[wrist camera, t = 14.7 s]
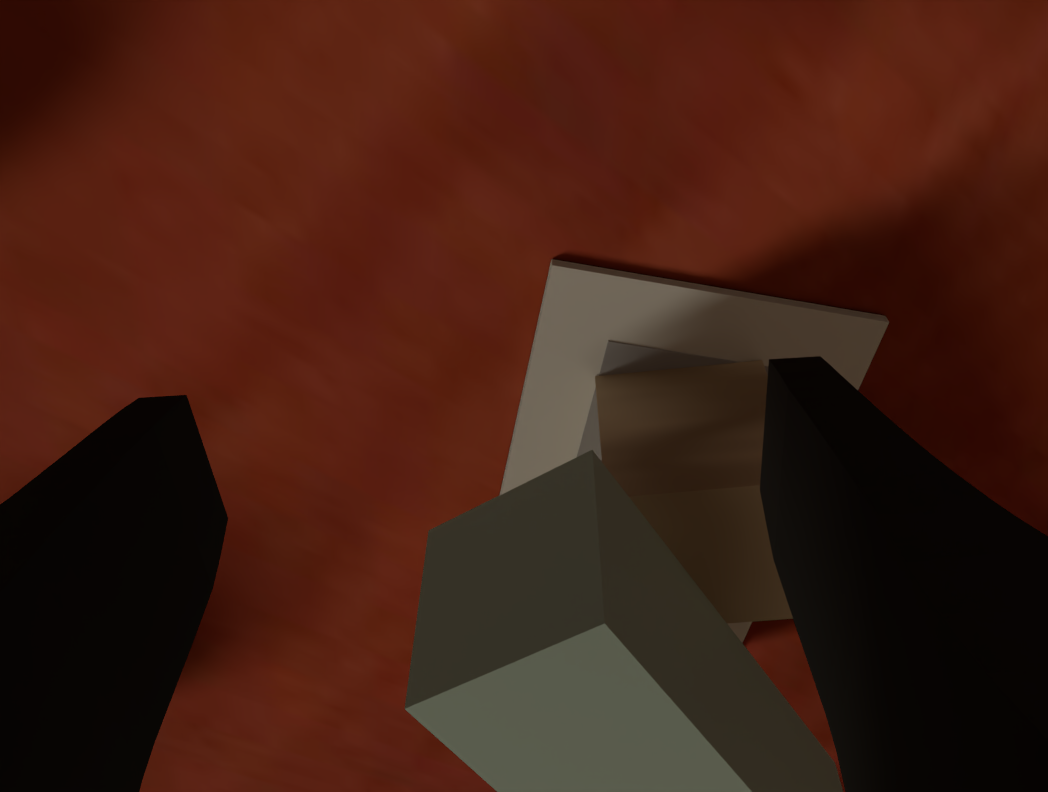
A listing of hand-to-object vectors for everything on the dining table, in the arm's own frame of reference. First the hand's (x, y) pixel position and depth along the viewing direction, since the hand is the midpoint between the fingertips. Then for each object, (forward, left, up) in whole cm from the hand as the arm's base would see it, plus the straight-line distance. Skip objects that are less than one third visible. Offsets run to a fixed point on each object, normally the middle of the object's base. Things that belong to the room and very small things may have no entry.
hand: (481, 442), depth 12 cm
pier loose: (-6, +7, -10) cm, 13 cm away
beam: (-5, +10, -6) cm, 12 cm away
